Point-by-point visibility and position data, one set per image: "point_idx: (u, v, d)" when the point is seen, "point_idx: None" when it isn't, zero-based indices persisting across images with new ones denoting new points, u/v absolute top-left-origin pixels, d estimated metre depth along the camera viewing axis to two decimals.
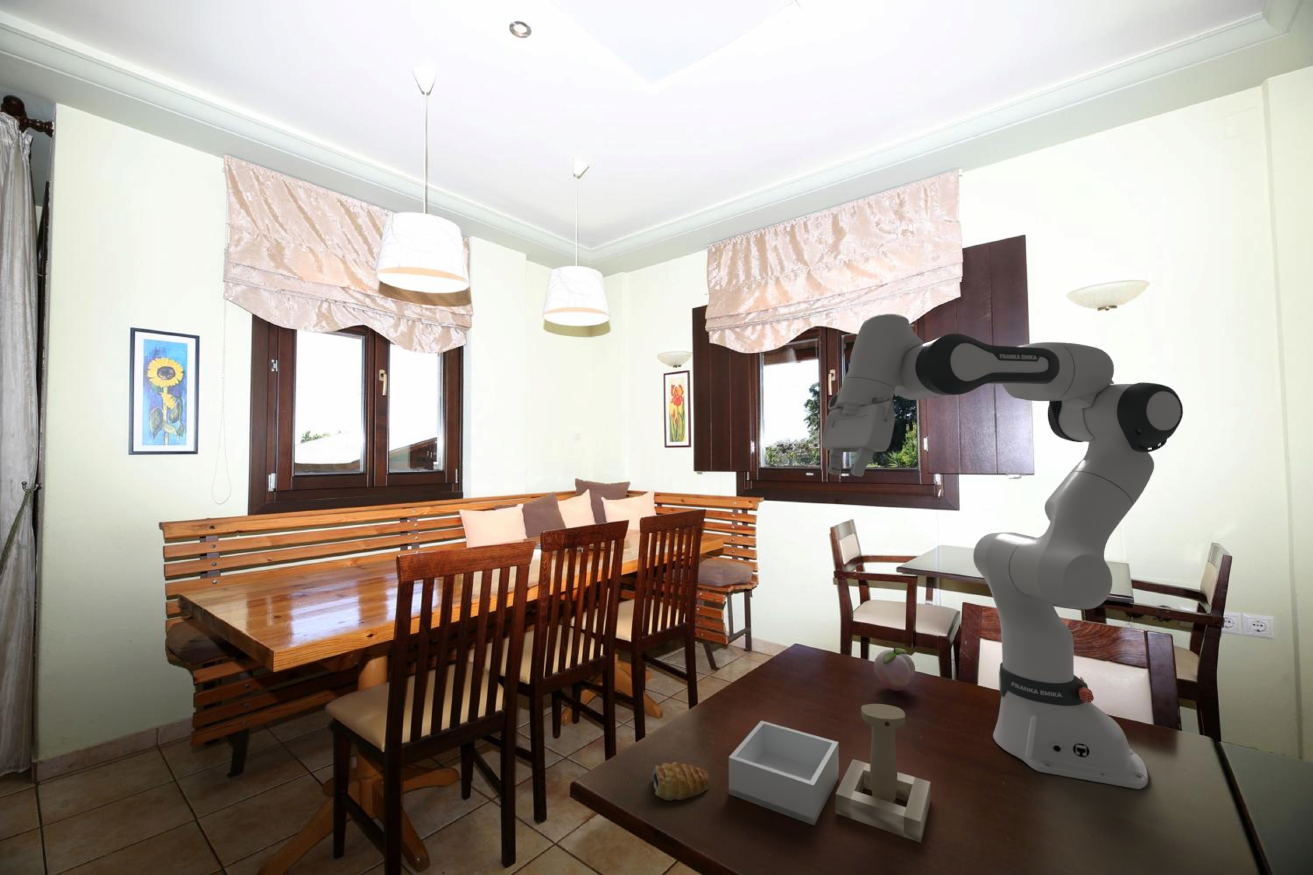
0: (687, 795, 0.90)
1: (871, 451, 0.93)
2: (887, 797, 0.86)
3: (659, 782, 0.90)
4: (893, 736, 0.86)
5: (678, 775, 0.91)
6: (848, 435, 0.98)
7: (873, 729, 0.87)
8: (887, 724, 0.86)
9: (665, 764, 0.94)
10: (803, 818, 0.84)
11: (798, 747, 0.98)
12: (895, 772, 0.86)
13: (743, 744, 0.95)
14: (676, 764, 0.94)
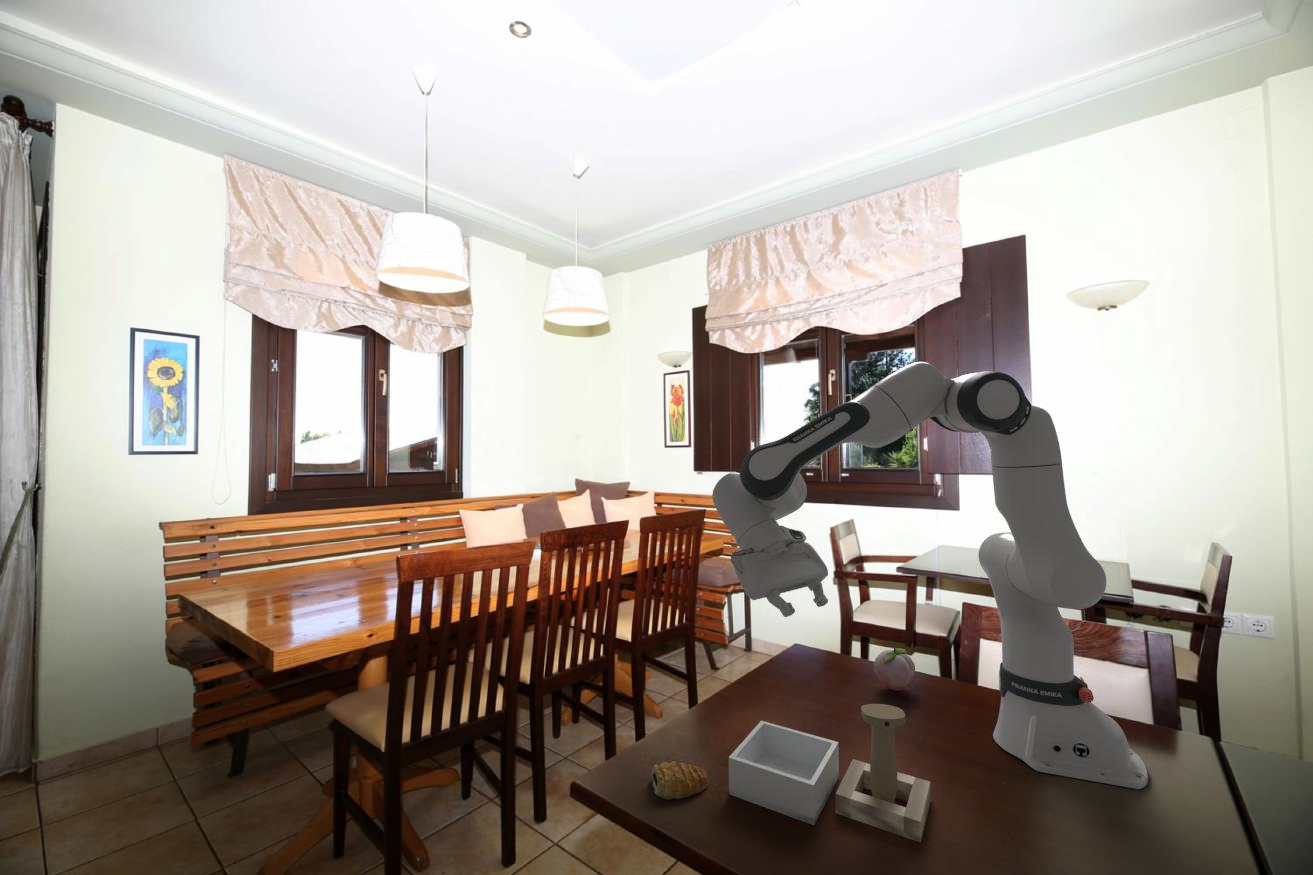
0: (686, 794, 0.90)
1: (771, 592, 0.97)
2: (887, 797, 0.86)
3: (658, 781, 0.90)
4: (893, 736, 0.86)
5: (677, 774, 0.92)
6: None
7: (873, 729, 0.87)
8: (887, 724, 0.86)
9: (664, 763, 0.94)
10: (803, 818, 0.84)
11: (798, 747, 0.98)
12: (895, 772, 0.86)
13: (743, 744, 0.95)
14: (675, 763, 0.94)
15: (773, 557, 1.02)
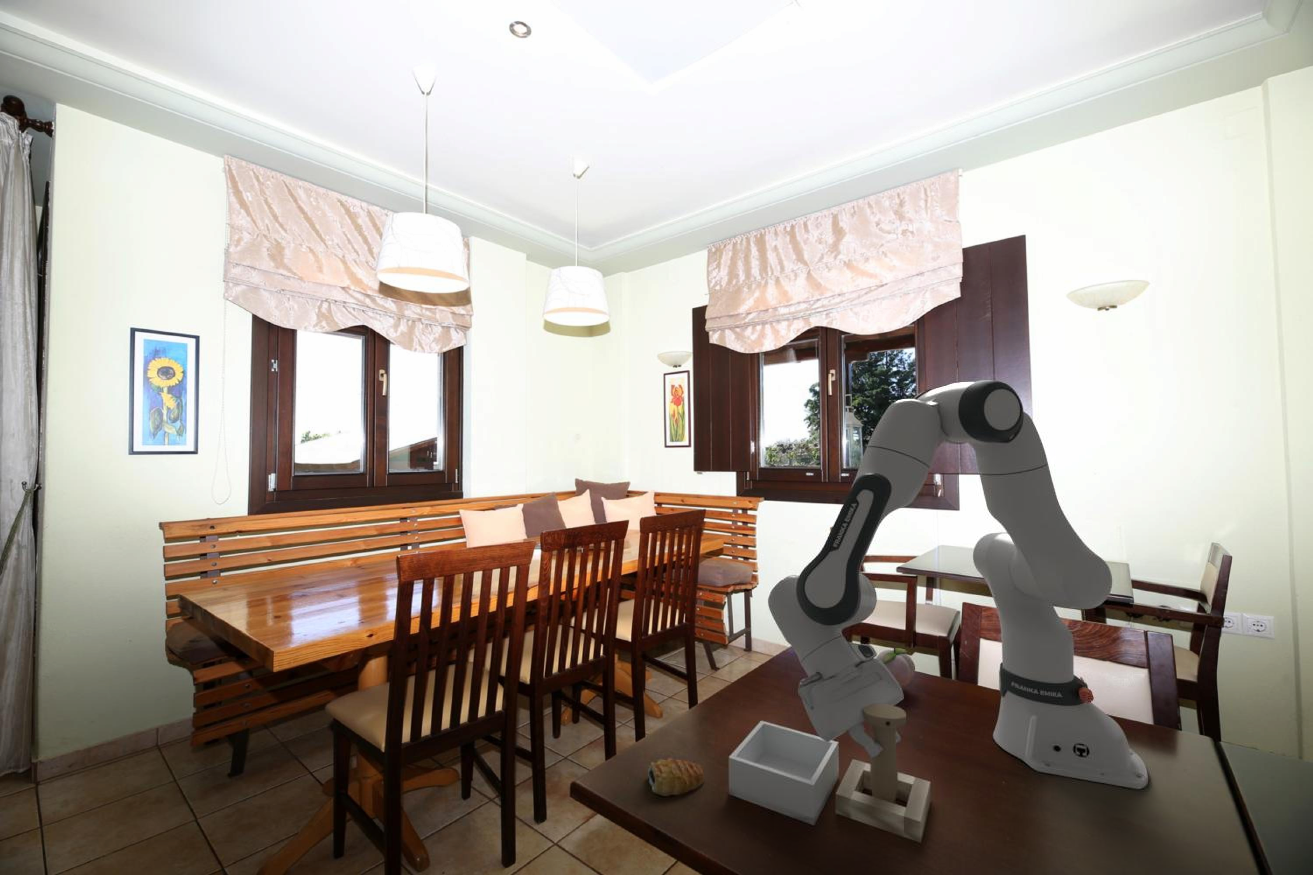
0: (683, 790, 0.91)
1: (855, 727, 0.87)
2: (887, 797, 0.86)
3: (656, 778, 0.91)
4: (894, 736, 0.87)
5: (674, 770, 0.92)
6: None
7: (874, 729, 0.87)
8: (888, 724, 0.86)
9: (660, 760, 0.95)
10: (803, 818, 0.84)
11: (798, 747, 0.98)
12: (895, 772, 0.86)
13: (743, 744, 0.95)
14: (671, 760, 0.95)
15: (844, 684, 0.91)
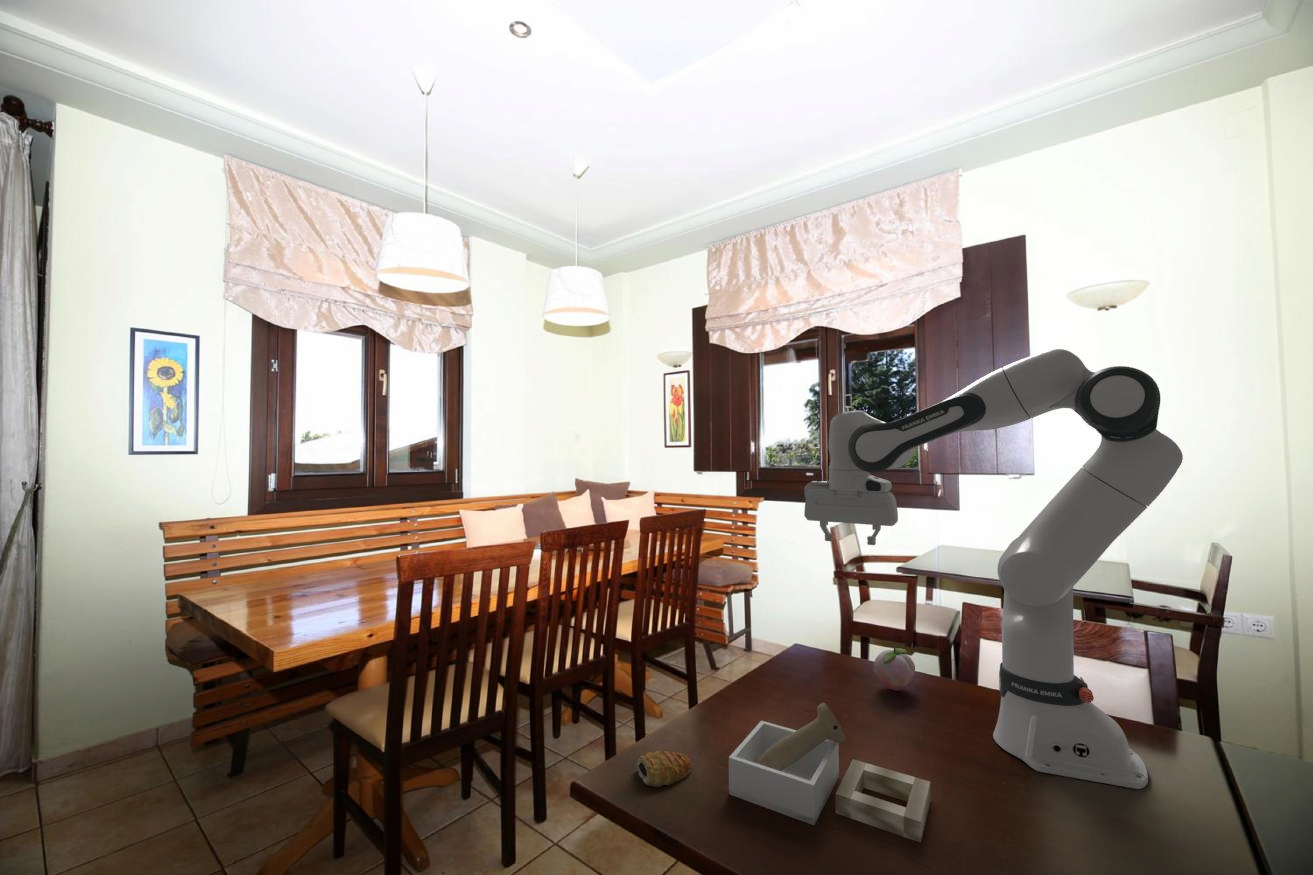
0: (674, 779, 0.94)
1: (820, 521, 1.30)
2: (776, 764, 0.92)
3: (648, 770, 0.93)
4: (824, 740, 0.94)
5: (664, 761, 0.95)
6: None
7: (817, 721, 0.95)
8: (834, 728, 0.94)
9: (649, 753, 0.97)
10: (803, 818, 0.84)
11: None
12: (798, 759, 0.93)
13: (743, 744, 0.95)
14: (660, 752, 0.98)
15: (838, 498, 1.27)
